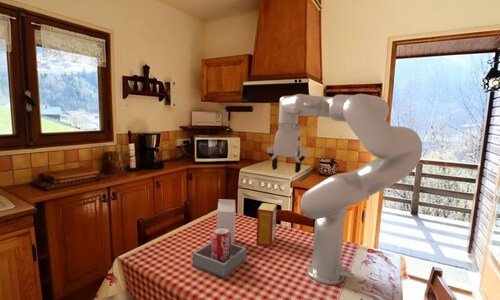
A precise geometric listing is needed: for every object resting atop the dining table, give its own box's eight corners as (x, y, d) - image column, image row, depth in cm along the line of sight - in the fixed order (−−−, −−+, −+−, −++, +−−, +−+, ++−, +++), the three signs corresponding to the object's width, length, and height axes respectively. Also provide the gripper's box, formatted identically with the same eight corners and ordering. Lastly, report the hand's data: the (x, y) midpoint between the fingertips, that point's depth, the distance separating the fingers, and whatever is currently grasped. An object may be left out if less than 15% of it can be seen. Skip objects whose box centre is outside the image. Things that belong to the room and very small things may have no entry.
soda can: (232, 258, 99) (233, 227, 97) (226, 268, 92) (227, 235, 90) (215, 255, 100) (216, 225, 99) (207, 264, 94) (208, 232, 92)
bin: (245, 260, 99) (246, 248, 98) (224, 279, 87) (224, 265, 86) (216, 250, 106) (216, 238, 105) (192, 266, 94) (192, 253, 93)
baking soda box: (261, 235, 121) (262, 202, 119) (275, 237, 119) (276, 203, 117) (256, 244, 112) (257, 208, 110) (271, 246, 110) (272, 210, 108)
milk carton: (233, 246, 109) (234, 202, 107) (216, 245, 110) (217, 201, 107) (234, 238, 117) (235, 197, 114) (218, 238, 117) (219, 196, 115)
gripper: (312, 128, 102) (309, 172, 104) (272, 127, 110) (270, 166, 112) (306, 129, 95) (303, 175, 97) (264, 127, 104) (262, 169, 106)
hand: (285, 170), depth 105 cm, fingers open, 9 cm apart
